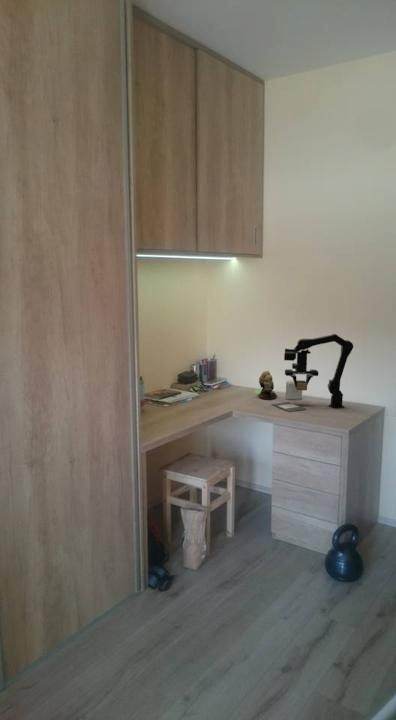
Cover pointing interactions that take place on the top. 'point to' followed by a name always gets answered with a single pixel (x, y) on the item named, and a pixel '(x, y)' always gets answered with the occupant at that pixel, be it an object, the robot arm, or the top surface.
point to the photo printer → (292, 390)
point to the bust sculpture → (267, 386)
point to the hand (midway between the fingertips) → (300, 387)
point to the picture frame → (288, 407)
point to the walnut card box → (301, 385)
